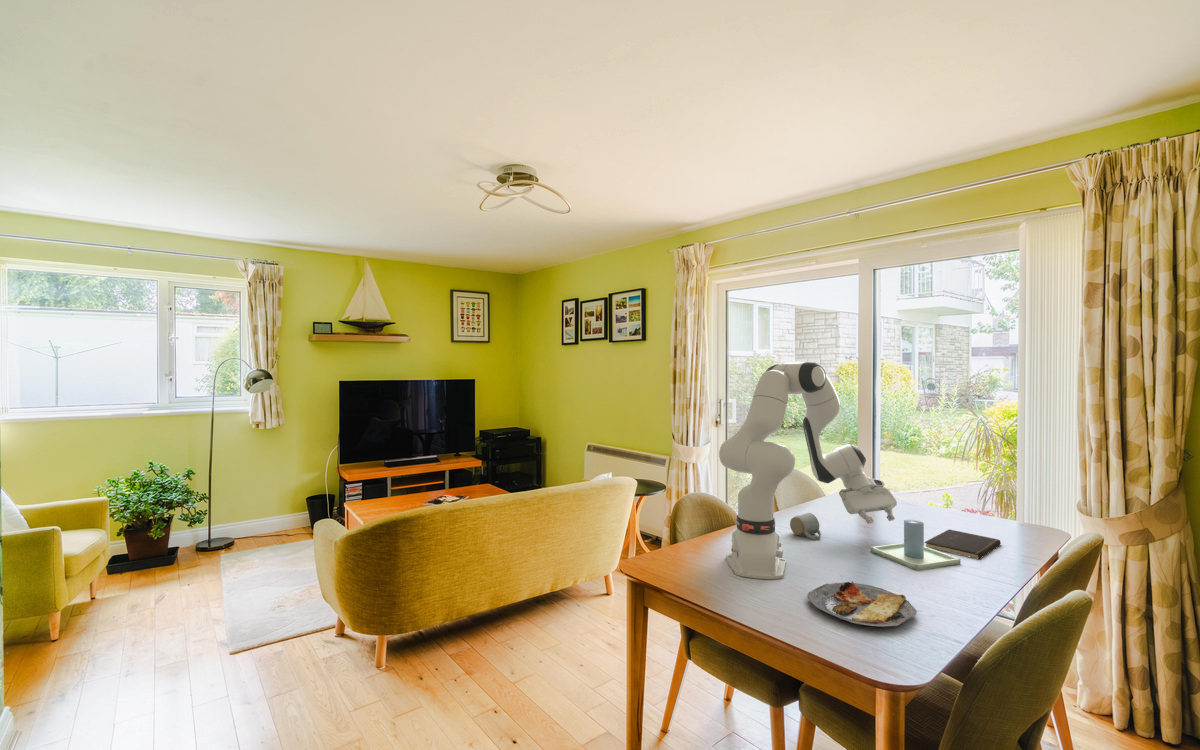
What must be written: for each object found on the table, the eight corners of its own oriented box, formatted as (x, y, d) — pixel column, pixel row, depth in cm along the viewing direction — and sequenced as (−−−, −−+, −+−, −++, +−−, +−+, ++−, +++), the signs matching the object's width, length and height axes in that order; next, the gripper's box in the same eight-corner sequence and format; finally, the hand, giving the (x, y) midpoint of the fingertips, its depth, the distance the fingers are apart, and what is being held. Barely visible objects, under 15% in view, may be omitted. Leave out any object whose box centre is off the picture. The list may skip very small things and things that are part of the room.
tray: (870, 551, 179) (870, 546, 179) (911, 545, 185) (911, 541, 184) (916, 570, 162) (916, 565, 162) (960, 563, 167) (960, 559, 167)
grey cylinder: (926, 559, 170) (926, 525, 170) (907, 557, 171) (907, 524, 171) (920, 553, 175) (920, 520, 175) (901, 552, 177) (901, 519, 176)
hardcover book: (924, 548, 184) (924, 541, 184) (948, 535, 198) (948, 529, 198) (979, 561, 171) (979, 554, 171) (1000, 546, 185) (1000, 539, 185)
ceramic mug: (788, 533, 200) (788, 513, 199) (804, 530, 203) (804, 510, 203) (810, 541, 190) (810, 520, 190) (826, 538, 194) (826, 517, 193)
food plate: (842, 582, 153) (842, 570, 153) (930, 612, 134) (930, 598, 134) (792, 608, 138) (792, 594, 138) (883, 645, 119) (883, 630, 119)
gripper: (841, 485, 189) (863, 520, 179) (886, 480, 195) (909, 513, 186) (832, 494, 193) (853, 529, 184) (876, 489, 199) (898, 522, 190)
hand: (881, 521), depth 185 cm, fingers open, 8 cm apart
